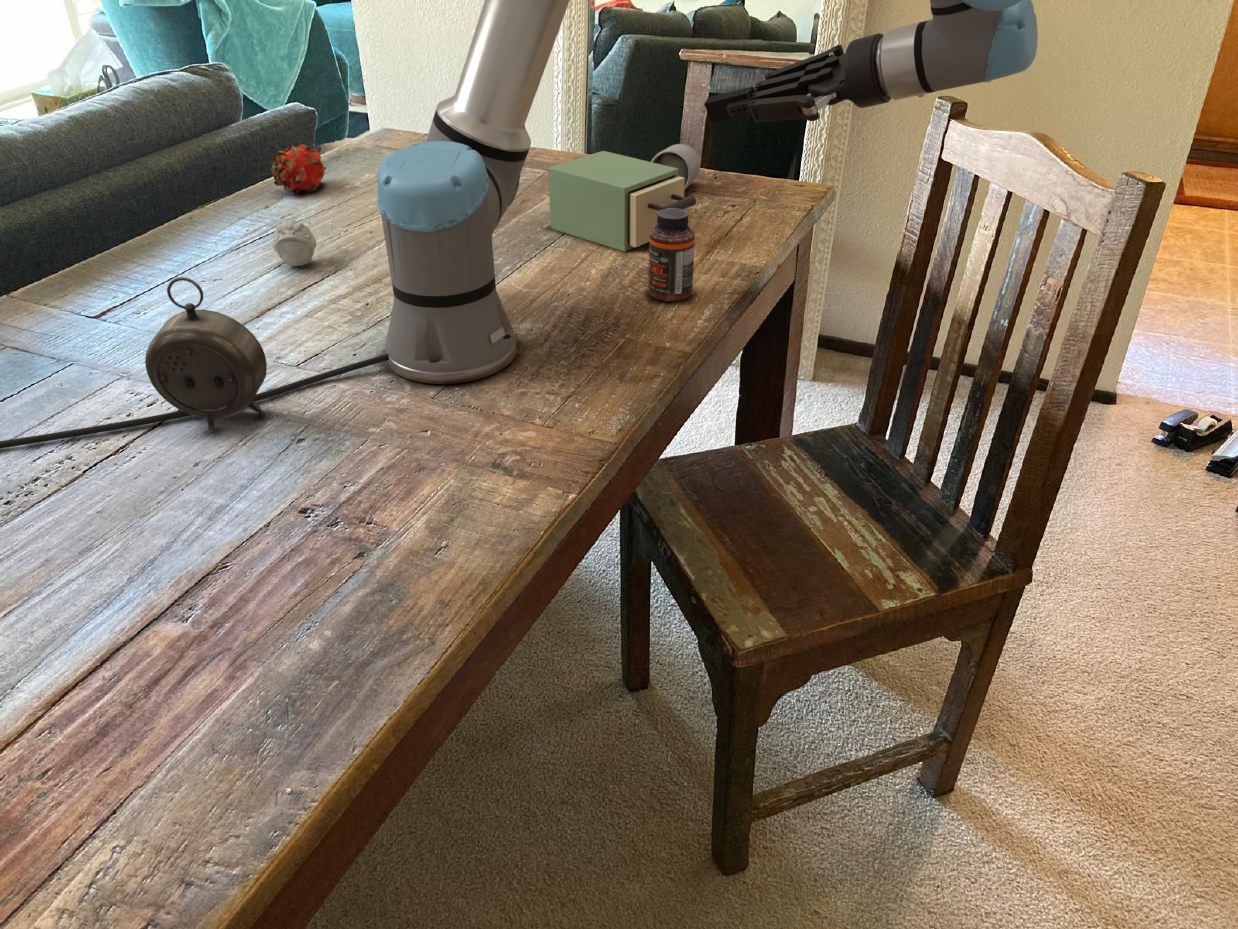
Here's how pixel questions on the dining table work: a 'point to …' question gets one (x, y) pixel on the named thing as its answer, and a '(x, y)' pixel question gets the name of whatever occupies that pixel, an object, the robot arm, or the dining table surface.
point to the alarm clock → (206, 363)
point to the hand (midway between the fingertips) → (710, 109)
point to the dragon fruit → (297, 168)
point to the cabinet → (599, 195)
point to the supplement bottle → (671, 256)
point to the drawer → (653, 206)
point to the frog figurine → (293, 242)
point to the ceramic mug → (680, 161)
